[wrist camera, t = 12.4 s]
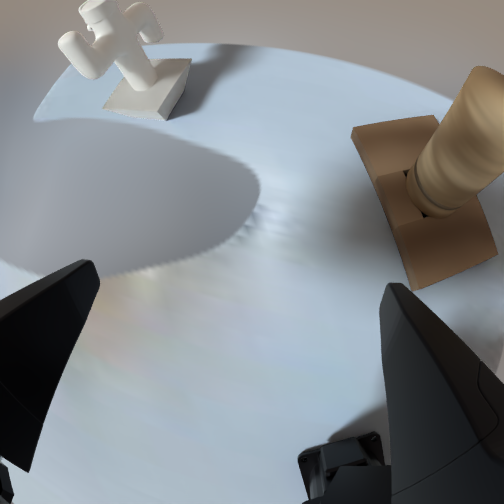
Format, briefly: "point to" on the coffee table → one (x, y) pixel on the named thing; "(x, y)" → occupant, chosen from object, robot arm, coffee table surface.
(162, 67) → the figurine
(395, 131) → the walnut board
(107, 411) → the coffee table surface
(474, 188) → the oak peg
